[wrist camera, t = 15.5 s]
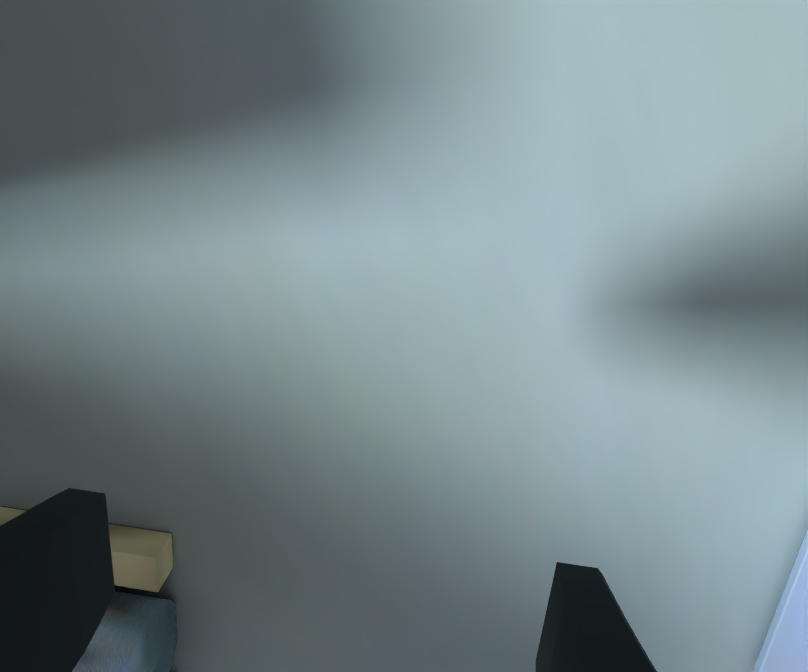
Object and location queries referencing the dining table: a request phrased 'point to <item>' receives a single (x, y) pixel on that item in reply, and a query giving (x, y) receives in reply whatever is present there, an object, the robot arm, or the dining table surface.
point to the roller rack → (131, 554)
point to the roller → (133, 636)
